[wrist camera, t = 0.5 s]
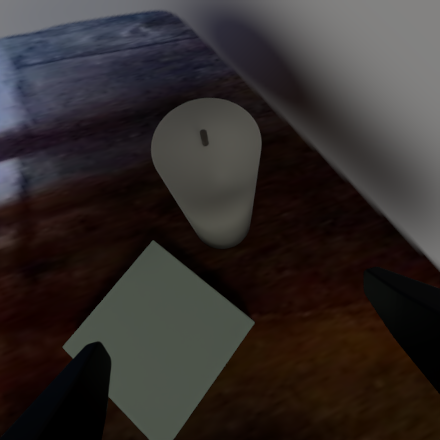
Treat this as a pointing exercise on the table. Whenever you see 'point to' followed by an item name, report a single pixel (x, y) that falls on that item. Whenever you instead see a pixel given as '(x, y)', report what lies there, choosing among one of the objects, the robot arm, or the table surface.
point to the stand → (162, 340)
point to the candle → (210, 166)
